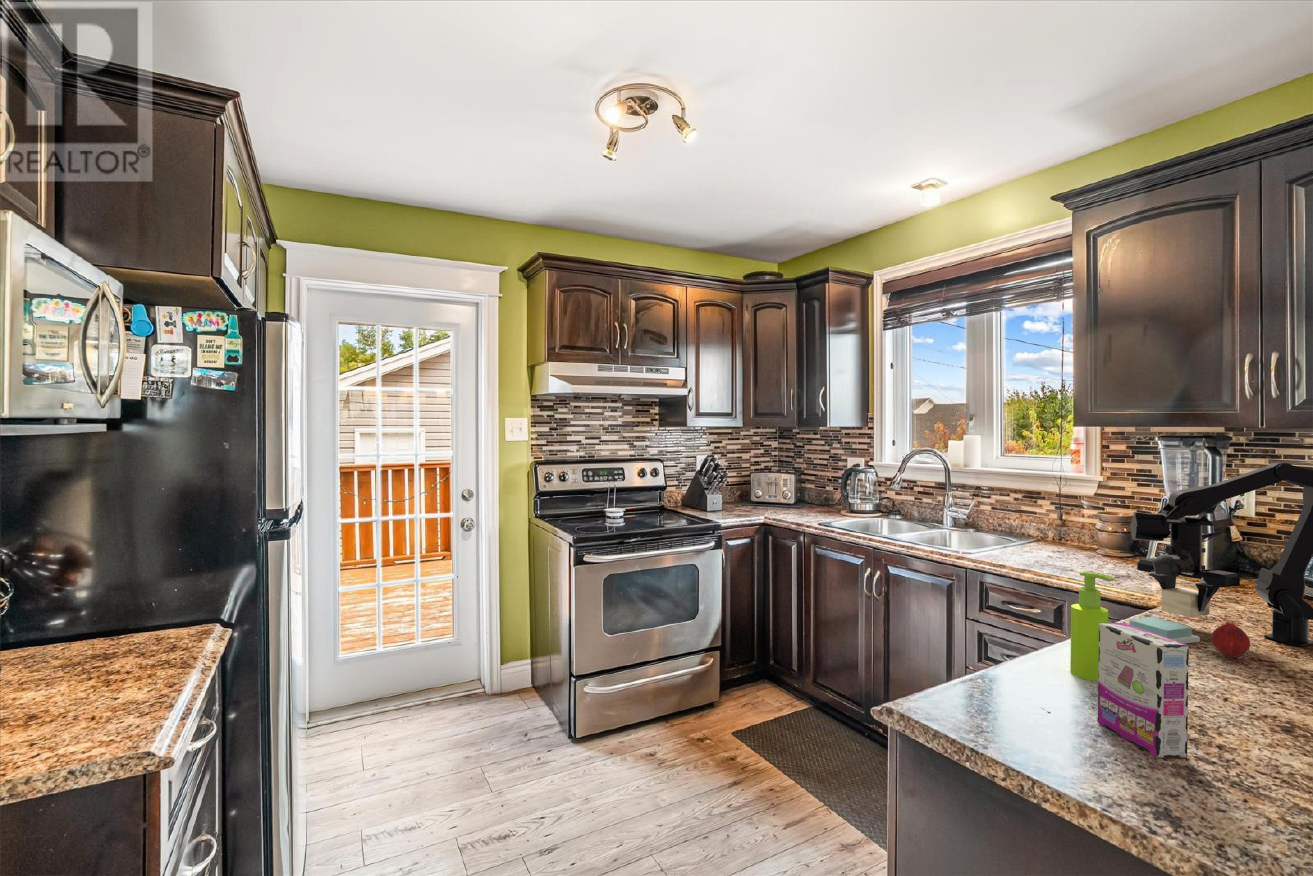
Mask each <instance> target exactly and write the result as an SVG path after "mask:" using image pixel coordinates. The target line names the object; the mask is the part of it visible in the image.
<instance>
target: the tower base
mask: <svg viewBox="0 0 1313 876" xmlns="http://www.w3.org/2000/svg"><path fill="white" fill-rule="evenodd" d="M1129 625H1132V626H1134V627H1137V628H1140V629H1143V630H1146V631H1149V632H1152V633H1154V634H1157V635H1160V636H1163V637H1166V638H1169V639H1171V640H1174V641H1177V642H1180V643H1182V644H1185V645H1187V644H1192V643H1199V642H1201V641H1200V640H1201V637H1200V636H1198V635H1194V634H1193V627H1191V626H1189V625H1185V624H1181V623H1177V622H1173V621H1170V620H1165V619H1162V618H1158V617H1155V616H1151V617H1143V618H1135V619H1134V618H1133V619H1130V620H1129Z"/></svg>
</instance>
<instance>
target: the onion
mask: <svg viewBox="0 0 1313 876" xmlns="http://www.w3.org/2000/svg"><path fill="white" fill-rule="evenodd" d="M1226 621H1227V622H1226V623H1225V624H1222V625H1220V626H1218V627H1217V628H1216V629H1214V630H1213V632H1212V634H1211V642H1212V644H1213V646H1214V647H1215V649H1216V650H1217V651H1219V653H1221V654H1222V655H1223V656H1224V657H1226V658H1227V659H1229V660H1230V659H1231V660H1232V659H1235V658H1238V657H1241V656H1243V655H1245V654H1246V653H1247V652H1248V651H1249V650H1250V647H1251V641H1250V638H1249V636H1248V635H1247V633H1246V632H1245V631H1244V630H1243V629H1241V628H1240V627H1238V626H1237V625H1236V624H1235V623H1234V621H1233V620H1231V619H1228V620H1226Z"/></svg>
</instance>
